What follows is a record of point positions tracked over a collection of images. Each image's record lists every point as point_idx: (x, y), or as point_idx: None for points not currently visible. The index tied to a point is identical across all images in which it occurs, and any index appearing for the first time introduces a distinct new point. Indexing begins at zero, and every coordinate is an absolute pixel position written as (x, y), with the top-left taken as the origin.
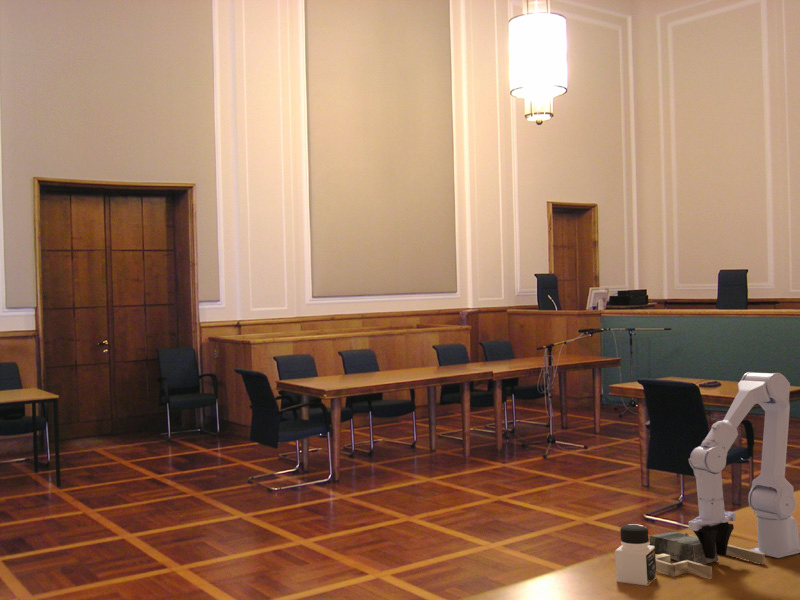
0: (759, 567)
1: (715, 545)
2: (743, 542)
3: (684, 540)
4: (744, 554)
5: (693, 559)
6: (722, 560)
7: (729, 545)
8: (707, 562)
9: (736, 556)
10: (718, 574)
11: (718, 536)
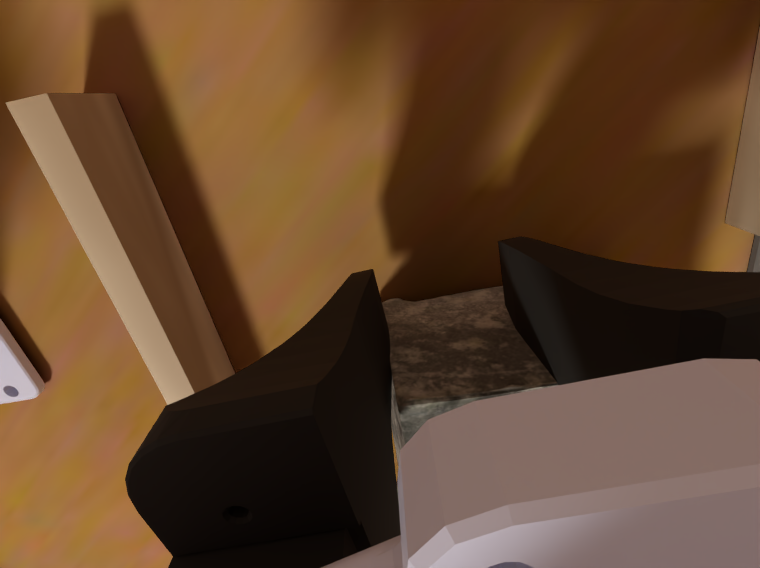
0: (173, 51)
1: (399, 373)
2: (8, 520)
3: None
4: (163, 274)
5: None
6: None
7: None
8: (486, 292)
9: (205, 324)
10: (621, 34)
11: (377, 419)
